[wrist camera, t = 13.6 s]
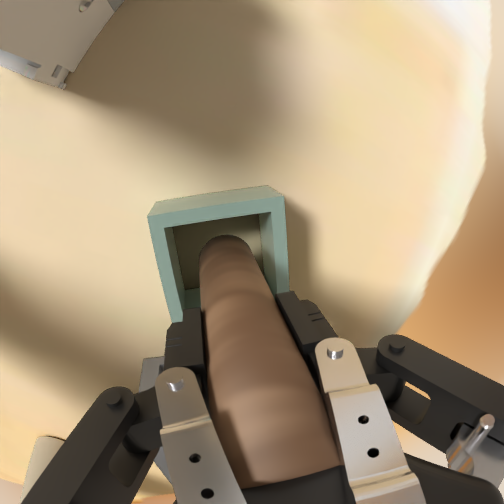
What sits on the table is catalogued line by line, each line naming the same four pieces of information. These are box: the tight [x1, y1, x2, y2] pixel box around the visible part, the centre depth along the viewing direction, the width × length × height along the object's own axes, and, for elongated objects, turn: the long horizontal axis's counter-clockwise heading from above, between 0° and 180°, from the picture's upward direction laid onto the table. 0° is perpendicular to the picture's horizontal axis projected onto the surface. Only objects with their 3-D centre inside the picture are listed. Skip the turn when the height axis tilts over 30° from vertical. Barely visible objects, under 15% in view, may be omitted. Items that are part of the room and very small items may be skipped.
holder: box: [147, 186, 290, 323], centre depth 19 cm, size 8×8×4 cm
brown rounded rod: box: [199, 235, 340, 489], centre depth 12 cm, size 3×3×14 cm
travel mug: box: [19, 436, 65, 504], centre depth 19 cm, size 8×8×18 cm
